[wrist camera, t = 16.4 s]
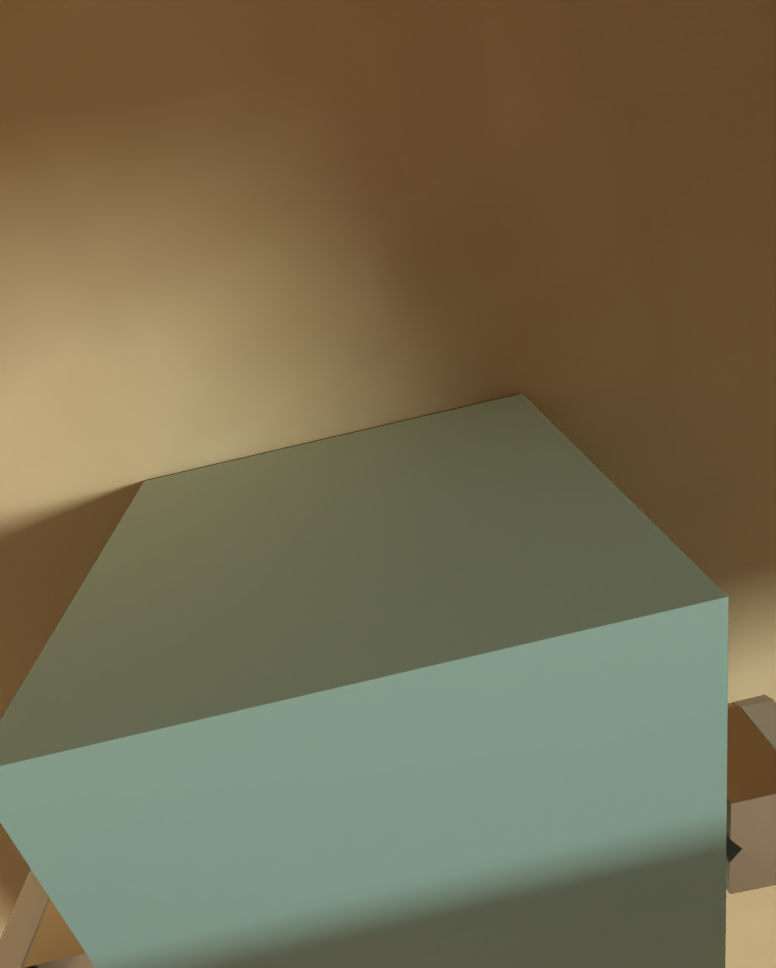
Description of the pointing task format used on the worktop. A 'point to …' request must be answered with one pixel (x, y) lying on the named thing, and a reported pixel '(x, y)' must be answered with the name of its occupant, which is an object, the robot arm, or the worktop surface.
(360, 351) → the worktop surface
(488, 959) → the teal eraser-like brick
